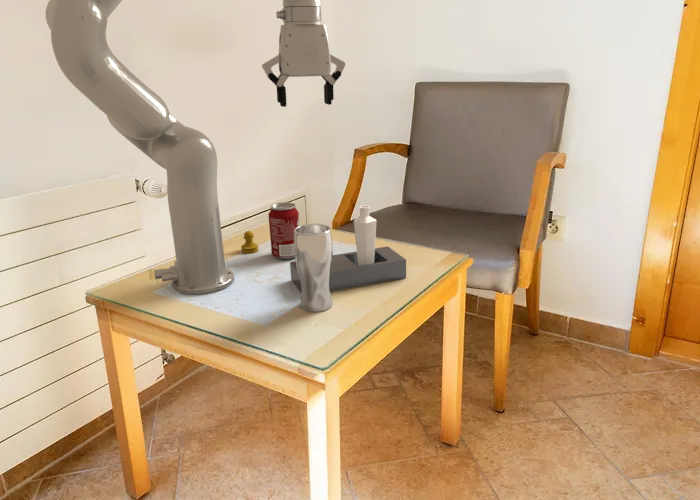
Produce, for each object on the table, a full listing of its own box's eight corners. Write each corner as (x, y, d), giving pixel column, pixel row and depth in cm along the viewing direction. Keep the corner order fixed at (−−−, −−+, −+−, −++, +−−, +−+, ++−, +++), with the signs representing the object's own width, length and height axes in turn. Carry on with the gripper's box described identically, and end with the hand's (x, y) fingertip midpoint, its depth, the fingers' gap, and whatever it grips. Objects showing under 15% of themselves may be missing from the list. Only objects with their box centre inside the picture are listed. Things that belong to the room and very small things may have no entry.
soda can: (299, 260, 134) (296, 209, 130) (269, 261, 134) (265, 210, 130) (302, 250, 140) (299, 201, 136) (274, 251, 140) (270, 201, 136)
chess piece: (244, 255, 138) (242, 234, 137) (239, 250, 142) (237, 230, 140) (260, 252, 140) (259, 231, 138) (255, 247, 143) (253, 227, 142)
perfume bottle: (351, 274, 125) (348, 205, 120) (369, 270, 127) (368, 202, 122) (360, 281, 121) (358, 211, 116) (379, 278, 123) (378, 208, 118)
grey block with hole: (303, 296, 115) (302, 277, 114) (291, 280, 123) (289, 262, 122) (406, 277, 122) (406, 259, 121) (387, 263, 130) (387, 246, 129)
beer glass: (315, 294, 116) (311, 220, 111) (342, 303, 112) (339, 227, 107) (290, 307, 111) (284, 230, 106) (317, 316, 107) (313, 237, 102)
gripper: (262, 16, 113) (268, 108, 119) (349, 16, 118) (350, 104, 124) (256, 18, 120) (261, 105, 125) (338, 18, 125) (340, 101, 130)
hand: (305, 105), depth 125 cm, fingers open, 9 cm apart
